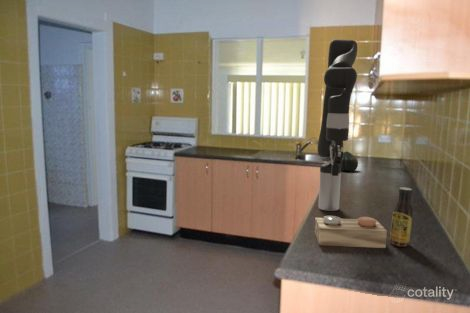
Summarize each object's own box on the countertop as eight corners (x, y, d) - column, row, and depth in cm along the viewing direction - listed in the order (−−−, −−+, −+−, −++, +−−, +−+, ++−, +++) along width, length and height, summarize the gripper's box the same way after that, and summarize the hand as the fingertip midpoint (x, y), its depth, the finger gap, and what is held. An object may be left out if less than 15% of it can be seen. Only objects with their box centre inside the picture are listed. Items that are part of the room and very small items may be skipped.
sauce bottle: (386, 244, 128) (390, 187, 126) (393, 239, 133) (398, 185, 130) (405, 249, 124) (410, 191, 121) (412, 244, 128) (417, 188, 125)
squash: (350, 166, 261) (356, 149, 267) (331, 164, 271) (337, 148, 277) (356, 177, 270) (362, 160, 276) (337, 175, 280) (344, 159, 286)
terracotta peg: (354, 237, 134) (356, 216, 133) (371, 238, 134) (373, 217, 133) (359, 243, 128) (360, 221, 127) (376, 244, 128) (378, 222, 127)
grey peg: (321, 236, 135) (322, 215, 134) (338, 236, 135) (339, 215, 134) (323, 242, 129) (324, 220, 128) (341, 242, 129) (342, 221, 128)
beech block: (314, 233, 138) (315, 217, 137) (375, 235, 137) (376, 219, 136) (319, 245, 126) (320, 228, 126) (385, 247, 125) (386, 230, 124)
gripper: (323, 124, 135) (321, 171, 138) (329, 127, 122) (326, 179, 125) (344, 125, 135) (341, 172, 137) (352, 128, 122) (349, 179, 124)
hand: (334, 175), depth 131 cm, fingers closed
